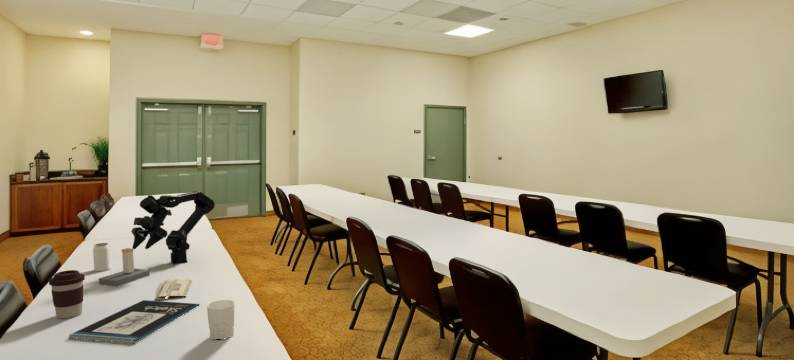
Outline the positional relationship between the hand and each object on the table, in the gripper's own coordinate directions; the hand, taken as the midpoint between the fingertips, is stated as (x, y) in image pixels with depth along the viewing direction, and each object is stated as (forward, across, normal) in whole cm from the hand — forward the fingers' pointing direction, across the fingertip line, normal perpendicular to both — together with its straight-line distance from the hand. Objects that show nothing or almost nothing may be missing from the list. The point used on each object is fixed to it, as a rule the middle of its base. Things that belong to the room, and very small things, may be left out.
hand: (139, 248), depth 201 cm
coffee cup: (+37, +22, -22) cm, 49 cm away
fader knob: (+11, 0, +1) cm, 11 cm away
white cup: (+34, +82, -8) cm, 89 cm away
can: (+9, -24, +3) cm, 26 cm away
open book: (+17, +31, +4) cm, 36 cm away
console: (+14, 0, +1) cm, 14 cm away
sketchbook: (+35, +48, -13) cm, 61 cm away
